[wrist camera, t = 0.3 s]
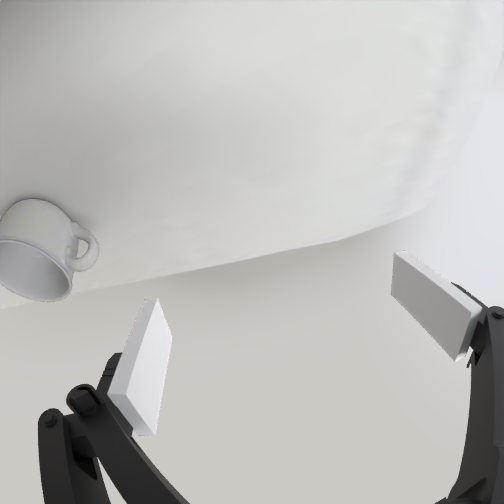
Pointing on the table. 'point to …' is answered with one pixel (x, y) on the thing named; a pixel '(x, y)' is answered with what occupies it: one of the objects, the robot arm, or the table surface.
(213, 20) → the table surface
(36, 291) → the teacup
